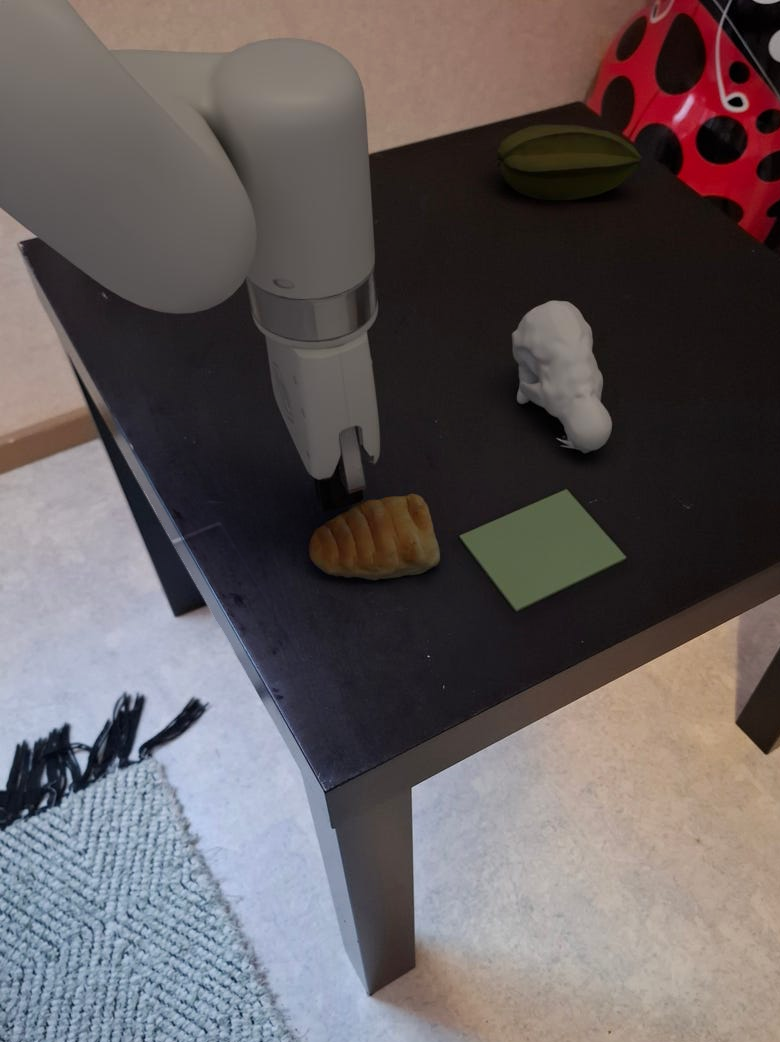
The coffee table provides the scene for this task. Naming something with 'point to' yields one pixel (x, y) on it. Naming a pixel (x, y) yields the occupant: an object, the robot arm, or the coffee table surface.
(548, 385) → the grey lumpy elongated piece
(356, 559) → the pastry
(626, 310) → the coffee table surface
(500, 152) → the fruit
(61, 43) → the robot arm
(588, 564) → the cloth
